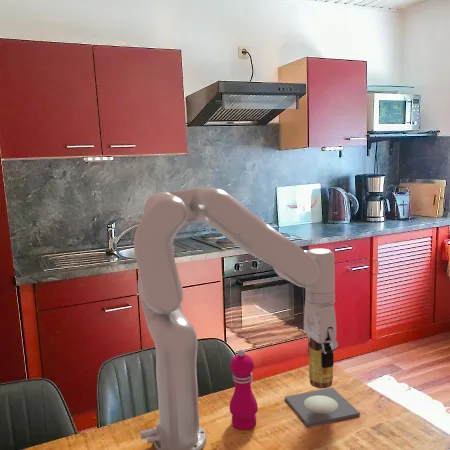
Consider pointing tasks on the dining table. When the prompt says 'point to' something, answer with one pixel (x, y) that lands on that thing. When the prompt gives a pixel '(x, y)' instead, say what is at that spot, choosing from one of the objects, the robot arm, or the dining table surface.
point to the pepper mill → (243, 392)
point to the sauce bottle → (318, 366)
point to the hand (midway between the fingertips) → (320, 360)
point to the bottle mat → (321, 406)
